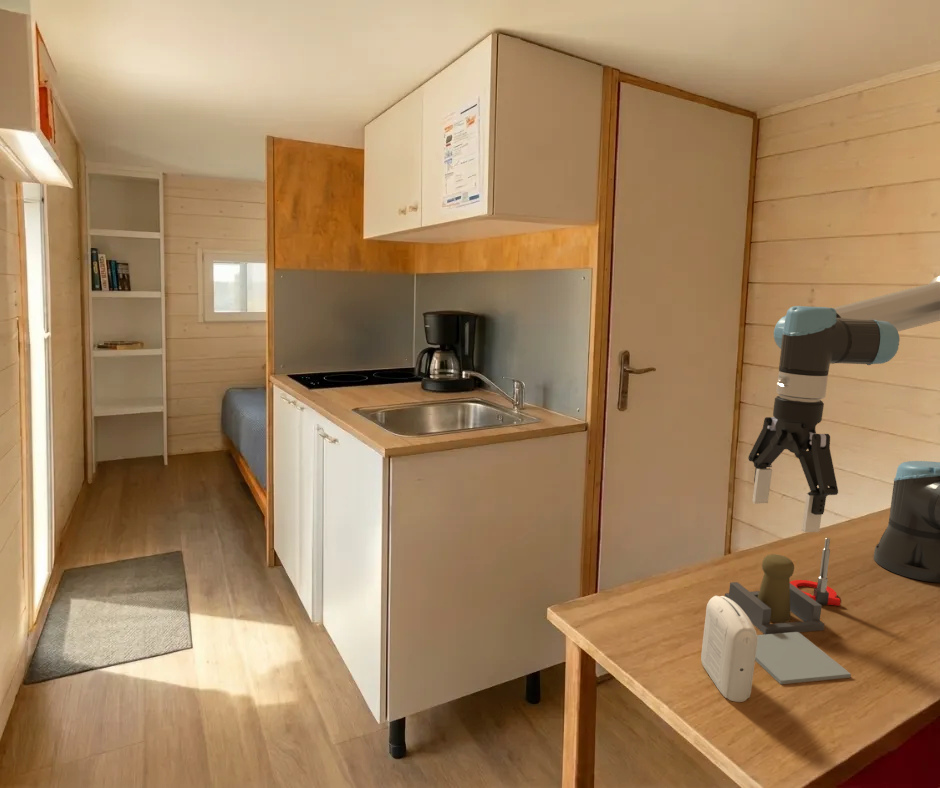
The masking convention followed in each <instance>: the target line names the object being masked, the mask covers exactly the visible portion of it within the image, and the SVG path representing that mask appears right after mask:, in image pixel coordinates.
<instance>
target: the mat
mask: <svg viewBox="0 0 940 788" xmlns="http://www.w3.org/2000/svg"><path fill="white" fill-rule="evenodd" d="M757 637H758V641H757V650H756V657H755V663H758V665H760V667H762V668H763V670H764V671H766V672H767V673H768V674H769V675H770V676H771V677H772V678H773V679H775V681H776V682H778V683H779V685H786V684H787V685H788V684H797V683H806V682H807V683H808V682H818V681H819V682H820V681H828V680H829V681H830V680H839V679H846V678H847V679H848V678H851V676H852V674H851V673H850V672H849V670H847V669H846V668H844V667H843V666H842V665H841V664H839V662H837V661H836V660H834V659H833V658H832V657H831V656H829V655H828V654H827V653H826V652H825V651H823V650H822V649H821V648H819V647H818V646H817V645H816V644H814V643H813V642H812V641H810V640H809V639H808V638H807V637H805V636H804V635H803V634H802V633H801V632H789V633H777V634H757Z"/></svg>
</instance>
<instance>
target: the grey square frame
mask: <svg viewBox="0 0 940 788" xmlns="http://www.w3.org/2000/svg"><path fill="white" fill-rule="evenodd" d="M799 589H800V588H799V587H797V588H796V587H795V586H794V585H792V584H791V583H790V613H792V614H793V615H795V616H796V617H798V618H799V619H800V620H801V621H793V622H792V621H791V622H790V621H789V622H785V623H771V622H770V616H771V608H769V607H768V606H767V605H766V604H764V603H763V602H762V601H761V600H759V599H758V594H759V590H757V591H749V590H748V589H747V588H746V587H744V586H743V585H742V584H741V583H739V582H738V581H736V582H733V581H732V582H730V583H729V590H728V593H727V592H726V593H724V596H725V597H727V598H729V599H731V600H733V601H734V602H735V603H736V604H738V605H739V606H740V607H741V609H742V610H743V611H744V612H745V613H746V615H747V616H748V617H749V619H750V621H751V622H752V624H753V626H754V627H756V629H758V630H759V631H760V632H761V633H763V635H765V634H777V633H789V632H799V633H804V632H807V633H808V632H815V631H824V630H825V623H824V622H823V621H822V620H821V613H822V607H823V605H821V604H819V603H818V602H816V601H815V600H813V599H812V598H811V597H809V596H808V595H806V594H805V593H803V592H802V591H803V590H801V589H800V590H799Z"/></svg>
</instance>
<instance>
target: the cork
mask: <svg viewBox="0 0 940 788" xmlns="http://www.w3.org/2000/svg"><path fill="white" fill-rule="evenodd" d="M761 567H762V571H763V572H764V573H763V576H762V581H761V584H760V588H759V590H758V591H759V594H758V599H759V600H761V601H762V602H763V603H764V604H766V605H767V606H768V607H769V608H771V616H770V623H774V624H777V623H789V622H790V620H791V611H790V582H791V580H790V578H791V577H792V576H793V574H794V571H795V565H794V563H793V561H792V559H790V558H789V557H787V556H784V555H782V554H776V553H772V554H771V553H770V554H767V555H765V556H764V558H763V560H762V563H761Z"/></svg>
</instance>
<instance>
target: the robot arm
mask: <svg viewBox="0 0 940 788" xmlns="http://www.w3.org/2000/svg"><path fill="white" fill-rule="evenodd" d="M938 322H940V275H939V276H936V277H934V278H933V279H932V280H931V281H930V282H929V283H928V284H927V283H926V284H923V285H919V286H915V287H911V288H908V289H907V288H906V289H904V290H903V289H902V290H900V291H896V292H891V293H889V294H888V293H887V294H883V295H880V296H874V297H872V298H868V299H863V300H859V301H855V302H851V303H847V304H844V305H839V306H836V307H828V306H809V305H808V306H805V305H804V306H803V305H794V306H791V307H789V308H788V309H787V311H786V315H784V316H782V317H781V318H779V320H778V321H777V322H776V324H775V327H774V330H773V339H774V342H775V344H776V346H777V347H778V349H780V356H779V365H778V373H777V374H778V376H777V382H776V388H775V389H776V390H775V392H776V393H777V394H778V395H777V396H776V397H774V403H773V411H772V416H771V417H770V416H767V417H765V418H764V420H763V424H762V428H761V431H760V432H759V434H758V437H757V439H756V441H755V442H754V445H753V447H752V449H751V450H750V453H749V455H748V456H747V457H748V461H749V462H752V463H753V467H755V470H754V477H753V481H754V482H753V483H754V486H753V493H752V494H753V496H752V500H751V501H752V504H754V505H758V504H768V503H769V497H770V489H771V481H772V474H773V469H772V467H773V465H772V464H773V463H774V462H775V461H776V460H777V458H778V457H779V456H780V455H781V454H782V453H783V451H784V450H788V451H789V452H790V453H792V454H794V456H795V457H796V458H797V459H799V463H800V465H801V468H802V471H803V475H804V476H805V477H804V478H805V479H806V482H807V485H808V487H809V492H807V493H806V495H805V496H806V497H805V503H804V512H803V518H802V525H801V531H802V532H803V533H815V532H816V533H817V532H820V528H821V521H822V515H824V513H825V507H826V501H827V497H828V496H837V495H838V494H839V489H838V483H837V478H836V473H835V468H834V463H833V459H832V454H831V447H830V446H831V436H830V434H829V433H817V431H816V427H817V425H818V424H820V423H821V422H822V421H823V420H822V419H823V414H824V413H823V412H824V408H825V407H824V405H825V403H824V401H822V399H825V398H826V395H827V386H828V385H827V384H828V377H829V372H830V371H829V370H830V365H833V364H847V365H848V364H849V365H850V364H851V365H867V366H871V365H881V364H882V365H883V364H885V363H886V364H887V362H889V361H891V360H892V359H893V358H894V357H896V355H897V353H898V351H899V345H900V340H901V339H900V334H899V332H901V331H905V330H910V329H913V328H914V329H915V328H917V327H921V326H924V325H925V326H926V325H928V324H929V325H930V324H933V323H938ZM890 501H891V502H890V509H889V517H888V524H887V526H886V529H885V531H884V532H883V534H882V535H881V537H880V539H879V542H878V543H877V544H876V545H875V548H874V551H873V560H874V562H875V563H876V564H877V565H879V567H881V568H884V569H886V570H887V571H889V572H892V573H894V574H897V575H898V576H899V575H900V576H903V577H906V578H909V579H913V580H918V581H922V582H928V583H929V582H930V583H940V461H927V460H926V461H925V460H909V461H908V460H907V461H903V462H902V463H900V464H899V465H898V467H897V468H896V472H895V477H894V478H893V487H892V495H891V500H890Z"/></svg>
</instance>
